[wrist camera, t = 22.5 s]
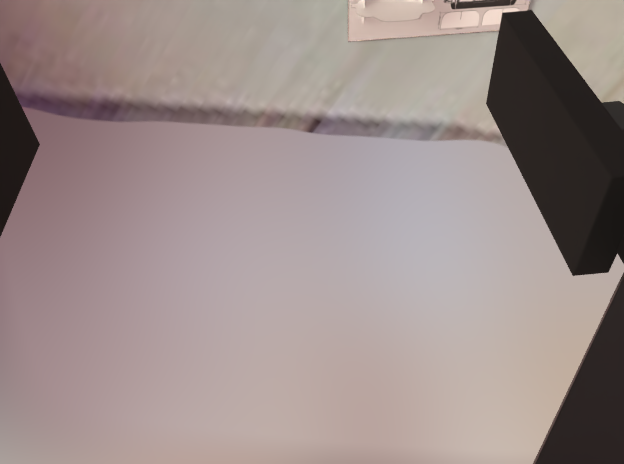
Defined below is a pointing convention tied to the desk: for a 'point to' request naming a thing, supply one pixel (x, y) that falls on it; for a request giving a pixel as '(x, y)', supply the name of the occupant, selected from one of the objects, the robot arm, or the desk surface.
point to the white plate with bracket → (425, 17)
